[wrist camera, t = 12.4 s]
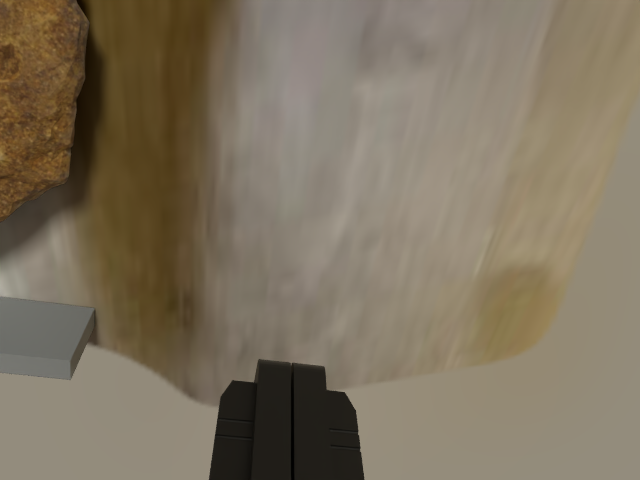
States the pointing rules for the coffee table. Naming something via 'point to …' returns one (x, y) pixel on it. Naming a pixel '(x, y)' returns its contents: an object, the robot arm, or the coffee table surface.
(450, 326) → the coffee table surface
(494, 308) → the coffee table surface
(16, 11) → the decorative rock
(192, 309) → the coffee table surface
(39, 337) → the box
